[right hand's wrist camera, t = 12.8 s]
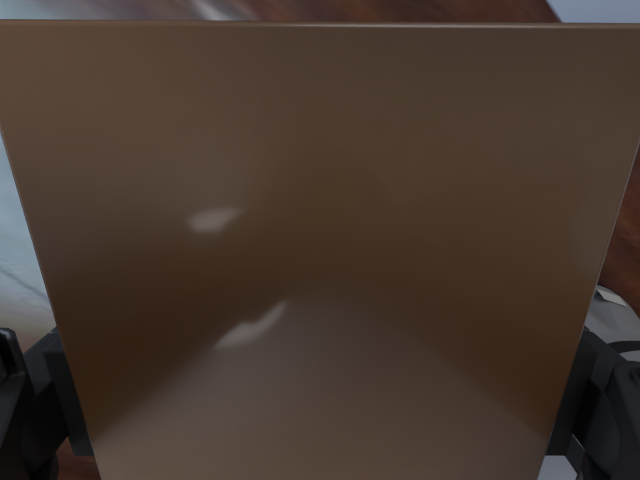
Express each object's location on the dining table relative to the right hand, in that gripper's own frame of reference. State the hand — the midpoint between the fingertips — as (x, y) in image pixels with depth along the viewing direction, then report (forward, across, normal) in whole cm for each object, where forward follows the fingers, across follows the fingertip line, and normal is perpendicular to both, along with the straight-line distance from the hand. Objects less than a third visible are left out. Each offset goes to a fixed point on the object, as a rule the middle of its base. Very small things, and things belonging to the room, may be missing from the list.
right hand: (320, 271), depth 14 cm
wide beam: (+1, 0, -24) cm, 24 cm away
